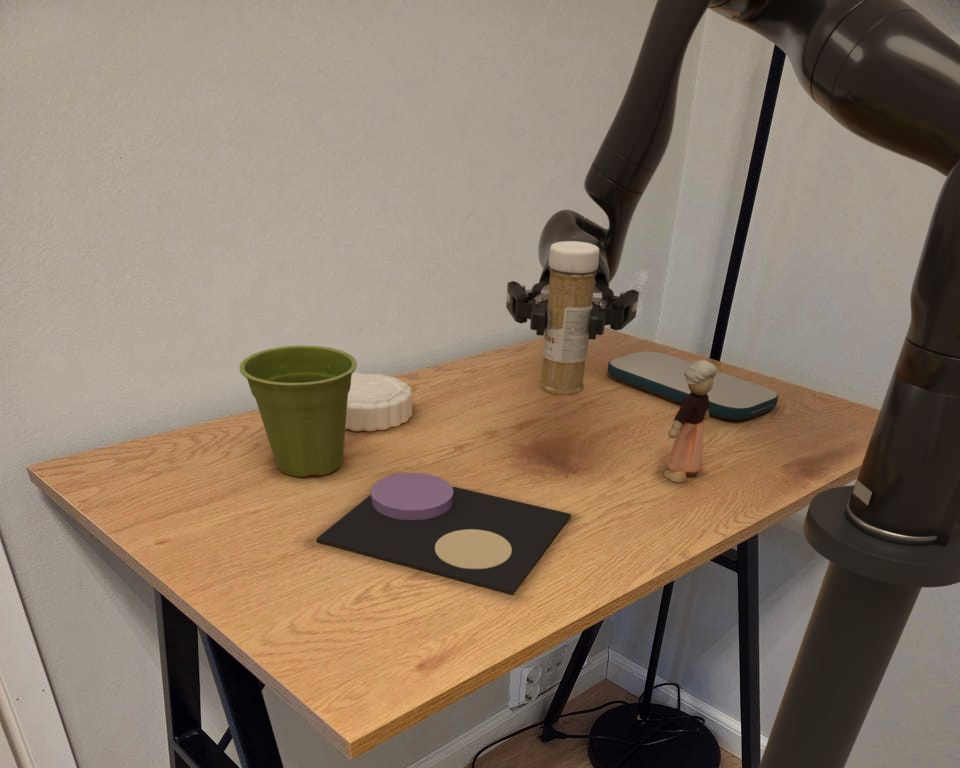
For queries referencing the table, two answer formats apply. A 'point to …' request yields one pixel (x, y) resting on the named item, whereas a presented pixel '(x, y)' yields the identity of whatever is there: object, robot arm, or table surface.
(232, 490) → the table surface
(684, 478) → the grandmother figurine
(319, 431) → the plant pot
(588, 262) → the spice jar
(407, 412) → the mooncake
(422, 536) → the table mat
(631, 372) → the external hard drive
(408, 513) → the lilac disc
